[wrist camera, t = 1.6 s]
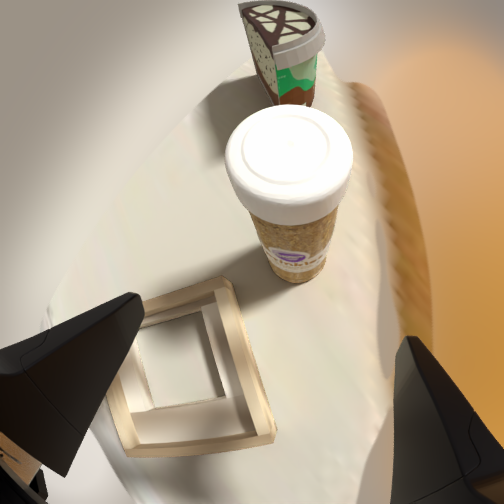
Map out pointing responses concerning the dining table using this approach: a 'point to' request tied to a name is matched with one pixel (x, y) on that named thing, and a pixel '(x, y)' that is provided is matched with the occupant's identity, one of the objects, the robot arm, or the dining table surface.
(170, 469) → the dining table surface
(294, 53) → the food container
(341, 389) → the dining table surface
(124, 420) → the box
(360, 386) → the dining table surface
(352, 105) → the dining table surface
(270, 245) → the sprinkles bottle
